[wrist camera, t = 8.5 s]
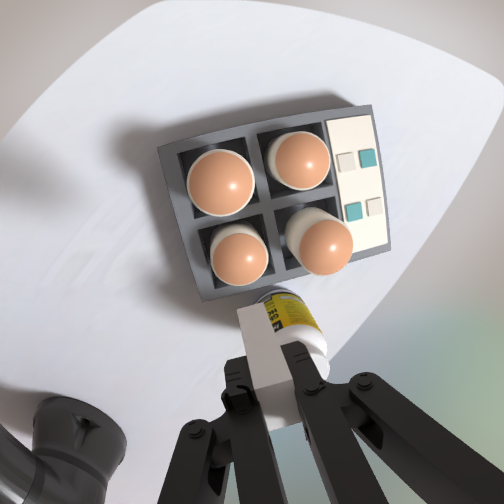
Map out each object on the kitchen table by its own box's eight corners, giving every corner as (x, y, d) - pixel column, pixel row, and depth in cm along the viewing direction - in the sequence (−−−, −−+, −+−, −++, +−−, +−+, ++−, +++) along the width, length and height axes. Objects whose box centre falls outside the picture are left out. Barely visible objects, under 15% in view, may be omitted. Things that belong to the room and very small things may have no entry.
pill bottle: (260, 281, 34) (283, 339, 24) (312, 294, 36) (350, 350, 25) (243, 330, 36) (257, 397, 26) (293, 339, 37) (320, 403, 27)
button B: (198, 212, 28) (196, 224, 24) (183, 157, 27) (178, 159, 22) (253, 198, 29) (261, 208, 24) (240, 143, 27) (246, 142, 22)
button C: (289, 263, 31) (303, 284, 27) (279, 214, 29) (292, 226, 25) (337, 250, 31) (358, 268, 27) (330, 201, 30) (351, 212, 25)
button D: (269, 189, 31) (280, 196, 26) (258, 138, 29) (267, 137, 25) (318, 178, 31) (336, 184, 27) (308, 129, 30) (325, 126, 25)
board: (202, 289, 34) (202, 304, 31) (161, 147, 29) (156, 147, 25) (378, 241, 35) (393, 251, 32) (357, 107, 30) (373, 104, 26)
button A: (217, 272, 33) (219, 293, 28) (204, 226, 31) (203, 240, 27) (264, 260, 33) (274, 278, 29) (254, 213, 32) (262, 225, 27)
